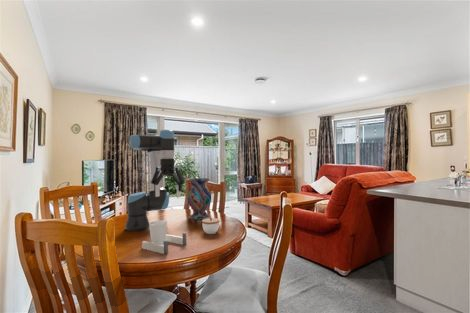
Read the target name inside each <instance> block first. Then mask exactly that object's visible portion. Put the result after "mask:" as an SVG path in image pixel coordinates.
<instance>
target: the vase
mask: <svg viewBox="0 0 470 313" xmlns="http://www.w3.org/2000/svg"><path fill="white" fill-rule="evenodd" d="M210 180H211V179H210V178H208V177H197V178H196V177H195V178H188V182H189V183H190V184H191V188H190V190H189V192H188V194H187V203H188V206H190V208H191V209H192V210H193V213H192V214H191V215H189V217H188V219H190V220H196V221H197V220H203V219H207V218H210V217H211V215H210V214H209V213H207V212H206V210H207V209H208V207H210V205H211V202H212V193H211V192H210V190H209V187H208V182H209V181H210Z"/></svg>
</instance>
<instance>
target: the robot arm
mask: <svg viewBox="0 0 470 313" xmlns="http://www.w3.org/2000/svg"><path fill="white" fill-rule="evenodd" d="M128 143H129V146H130V148H131V149H132V150H135V151H140V152H146V153H147V155H148V156H149V163H150V164H149V166H150V168H149V170H150V190H148V193H147V192H146V191H140V192H134V193H132V194H129V195H128V196H127V220H126V222H125V226H124V229H125V231H127V232H137V231H143V230H146V229H149V228H150V222H149V219H148V216H147V212H152V211H153V212H154V211H162V210H166V209H168V207H169V203H170V193H169V192H168V191H167V189H166V188H165V184H164V183H165V182H164V176H171V177H172V179H173V180H174V181H175V183H176V184H177V185H176V198H177V199H178V198H182V196H181V195H182V194H181V192H182V191H183V187H182V186H183V185H184V184H186V182H185V179H184V177H183V174H182V173H181V168H180V166H176V167H175V131H174V130H171V129H161V130H160V132H159V135H158V134H154V135H153V134H131V135H130V136H129V141H128Z"/></svg>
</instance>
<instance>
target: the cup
mask: <svg viewBox="0 0 470 313" xmlns="http://www.w3.org/2000/svg"><path fill="white" fill-rule="evenodd" d="M167 232H168V220H167V221H166V220H155V221H151V222H149V234H150V240H151V241H150V242H152V243H156V244H161V245H164V241H166V234H168V233H167Z"/></svg>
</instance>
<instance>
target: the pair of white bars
mask: <svg viewBox="0 0 470 313" xmlns="http://www.w3.org/2000/svg"><path fill="white" fill-rule="evenodd" d="M169 243H171V244H177V245H182V246H187V232H182V236H179V235H174V234H168V233H167V234H166V241H164V245H161V244H156V243H152V241H147V240H143V241H141V248H143V250H146V249H147V251H150V250H151V252H155V253H158V254H162V253H163V254H162V255H168V254H169Z"/></svg>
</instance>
